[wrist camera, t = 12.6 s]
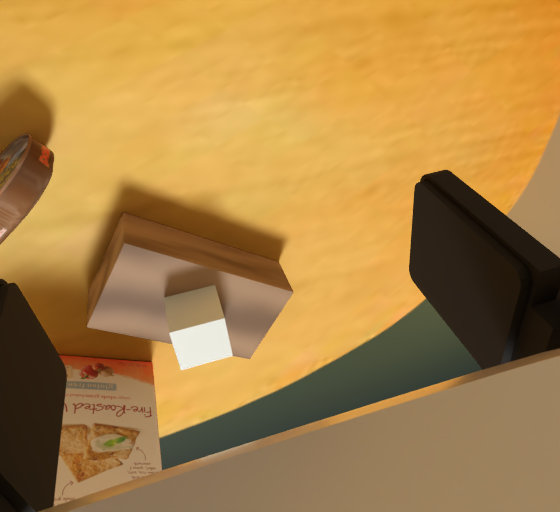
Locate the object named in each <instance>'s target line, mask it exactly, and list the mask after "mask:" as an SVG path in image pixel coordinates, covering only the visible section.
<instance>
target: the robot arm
mask: <svg viewBox="0 0 560 512" xmlns="http://www.w3.org/2000/svg"><path fill="white" fill-rule="evenodd" d="M409 271H410V275H411V278H412V280H413V282H414V283H415V284H416V286H417V287H418V288H419V289H420V291H421V292H422V293H423V295H424V296H425V297H426V298H427V300H428V301H429V302H430V303H431V305H432V306H433V307H434V308H435V309H436V311H437V312H438V313H439V315H440V316H441V317H442V319H443V320H444V321H445V322H446V323H447V325H448V326H449V327H450V329H451V330H452V331H453V332H454V334H455V335H456V336H457V337H458V339H459V340H460V341H461V343H462V344H463V345H464V346H465V348H466V349H467V350H468V351H469V353H470V354H471V355H472V356H473V358H474V359H475V360H476V361H477V363H478V364H479V365H480V366H481V368H482V369H483V370H481V371H477V372H474V373H471V374H467V375H464V376H461V377H458V378H455V379H452V380H448V381H445V382H442V383H438V384H435V385H432V386H429V387H425V388H422V389H419V390H416V391H413V392H409V393H406V394H403V395H400V396H396V397H393V398H390V399H387V400H383V401H380V402H377V403H374V404H371V405H367V406H364V407H361V408H358V409H355V410H351V411H348V412H345V413H342V414H339V415H336V416H333V417H329V418H326V419H323V420H320V421H317V422H313V423H310V424H307V425H304V426H301V427H297V428H294V429H292V430H288V431H285V432H282V433H279V434H276V435H272V436H269V437H266V438H263V439H260V440H256V441H254V442H250V443H247V444H244V445H241V446H237V447H234V448H231V449H228V450H225V451H222V452H219V453H216V454H213V455H210V456H206V457H203V458H200V459H197V460H194V461H191V462H188V463H185V464H181V465H178V466H175V467H172V468H169V469H166V470H163V471H160V472H156V473H153V474H150V475H147V476H144V477H141V478H138V479H135V480H132V481H128V482H125V483H122V484H119V485H116V486H113V487H110V488H107V489H104V490H101V491H98V492H95V493H92V494H89V495H86V496H83V497H80V498H77V499H74V500H71V501H68V502H65V503H63V504H60V505H57V506H54V496H55V487H56V477H57V468H58V458H59V449H60V440H61V430H62V421H63V411H64V402H65V393H66V383H67V372H66V368H65V365H64V363H63V361H62V359H61V358H60V356H59V354H58V353H57V351H56V349H55V348H54V346H53V344H52V343H51V341H50V339H49V338H48V336H47V334H46V333H45V331H44V329H43V328H42V326H41V324H40V323H39V321H38V319H37V318H36V316H35V314H34V313H33V311H32V309H31V308H30V306H29V304H28V302H27V301H26V299H25V297H24V296H23V294H22V292H21V291H20V289H19V288H18V286H17V285H16V284H15V283H9V284H8V283H7V282H6V281H5V280H3V279H0V512H560V258H559V257H557V256H556V255H555V254H554V253H552V252H551V251H550V250H549V249H547V248H546V247H545V246H544V245H542V244H541V243H540V242H539V241H537V240H536V239H535V238H534V237H532V236H531V235H530V234H528V233H527V232H526V231H525V230H523V229H522V228H521V227H520V226H518V225H517V224H516V223H515V222H513V221H512V220H511V219H509V218H508V217H507V216H506V215H505V214H503V213H502V212H501V211H499V210H498V209H497V208H496V207H494V206H493V205H492V204H491V203H489V202H488V201H487V200H486V199H484V198H483V197H482V196H481V195H479V194H478V193H477V192H476V191H474V190H473V189H472V188H470V187H469V186H468V185H467V184H465V183H464V182H463V181H462V180H460V179H459V178H458V177H457V176H455V175H454V174H453V173H452V172H450V171H448V170H442V171H438V172H434V173H430V174H426V175H424V176H422V178H421V181H420V182H418V183H417V184H416V185H415V191H414V205H413V220H412V234H411V249H410V263H409ZM53 506H54V507H53Z"/></svg>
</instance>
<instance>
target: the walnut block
mask: <svg viewBox="0 0 560 512" xmlns="http://www.w3.org/2000/svg"><path fill="white" fill-rule="evenodd" d="M212 285H215V286H216V290H217V293H218V297H219V300H220V304H221V307H222V311H223V314H224V318H225V322H226V327H227V331H228V336H229V340H230V345H231V350H232V354H233V356H236V357H242V358H247V359H250V358H251V356H252V355H253V353H254V352H255V350H256V349H257V347H258V346H259V344H260V343H261V341H262V340H263V338H264V337H265V335H266V334H267V332H268V330H269V329H270V327H271V326H272V324H273V323H274V321H275V320H276V318H277V317H278V315H279V314H280V312H281V311H282V309H283V308H284V306H285V305H286V303H287V301H288V300H289V298H290V297H291V295H292V294H293V290H292V288H291V286H290V284H289V282H288V280H287V278H286V276H285V274H284V272H283V270H282V268H281V266H280V264H279V262H277V261H274V260H271V259H268V258H265V257H262V256H259V255H256V254H252V253H249V252H246V251H243V250H240V249H237V248H234V247H231V246H228V245H225V244H221V243H218V242H215V241H212V240H209V239H206V238H203V237H200V236H197V235H193V234H190V233H187V232H184V231H181V230H178V229H175V228H172V227H169V226H165V225H162V224H159V223H156V222H153V221H150V220H147V219H144V218H141V217H138V216H134V215H131V214H128V213H125V212H123V213H122V215H121V218H120V220H119V222H118V225H117V227H116V229H115V231H114V234H113V236H112V238H111V241H110V243H109V245H108V247H107V250H106V252H105V254H104V257H103V259H102V261H101V263H100V266H99V268H98V270H97V273H96V275H95V277H94V279H93V282H92V284H91V286H90V289H89V292H88V310H87V327H88V328H93V329H98V330H103V331H108V332H113V333H119V334H124V335H129V336H134V337H139V338H144V339H149V340H154V341H160V342H165V343H170V344H172V340H171V337H170V334H169V329H168V322H167V315H166V308H165V301H164V297H168V296H172V295H176V294H180V293H184V292H188V291H192V290H196V289H200V288H204V287H208V286H212Z"/></svg>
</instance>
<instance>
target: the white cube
mask: <svg viewBox="0 0 560 512" xmlns="http://www.w3.org/2000/svg"><path fill="white" fill-rule="evenodd" d="M164 301H165V308H166V315H167V322H168V329H169V334H170V337H171V340H172V344H173V347H174V350H175V353H176V356H177V359H178V362H179V365H180V368H181V370H184V369H188V368H191V367H195V366H198V365H202V364H205V363H209V362H213V361H216V360H220V359H223V358H227V357H230V356H233V354H232V350H231V345H230V340H229V336H228V331H227V327H226V322H225V318H224V314H223V311H222V307H221V304H220V300H219V297H218V293H217V290H216V286H215V285H212V286H208V287H204V288H200V289H196V290H192V291H188V292H184V293H180V294H176V295H172V296H168V297H164Z"/></svg>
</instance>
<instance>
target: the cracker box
mask: <svg viewBox="0 0 560 512" xmlns="http://www.w3.org/2000/svg"><path fill="white" fill-rule="evenodd" d="M59 356H60V358H61V359H62V361H63V363H64V365H65V368H66V372H67V383H66V393H65V402H64V411H63V421H62V430H61V440H60V449H59V458H58V468H57V477H56V487H55V496H54V506H57V505H60V504H63V503H65V502H68V501H71V500H74V499H77V498H80V497H83V496H86V495H89V494H92V493H95V492H98V491H101V490H104V489H107V488H110V487H113V486H116V485H119V484H122V483H125V482H128V481H132V480H135V479H138V478H141V477H144V476H147V475H150V474H153V473H156V472H160V471H162V466H161V455H160V445H159V433H158V420H157V408H156V397H155V386H154V375H153V365H152V362H143V361H129V360H117V359H104V358H91V357H78V356H66V355H59ZM54 506H53V507H54Z"/></svg>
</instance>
